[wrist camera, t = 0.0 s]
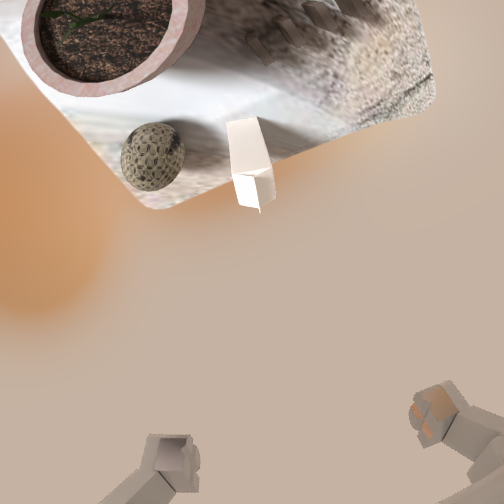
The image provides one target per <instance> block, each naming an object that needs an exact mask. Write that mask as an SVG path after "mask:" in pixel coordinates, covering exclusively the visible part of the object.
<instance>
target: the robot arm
mask: <svg viewBox="0 0 504 504" xmlns="http://www.w3.org/2000/svg"><path fill="white" fill-rule="evenodd" d="M413 400H414V403H413V405H412V406H411V407H410V410H409V419H410V423H411V425H412V427H413V428H414V429H416V430H418V431H419V432H418V438H419V440H420V442H421V444H422V446H423V448H427V447H429V446H432V445H434V444H436V443H439V442H441V441H442V443H444V444H446V445H447V446H449V447H451V448H452V449H454V450H455V451H457V452H459V453H460V454H462V455H463V456H465V457H467V458H468V459H470V460H472V461H473V462H475V463H474V464H473V465H472V466H471V468H470V469H469V470H468V472H467V475H468V477H469V479H470V481H471V483H472V485H470V486H469V487H467V488H465V489H463V490H461V491H460V492H458V493H456V494H454V495H452V496H450V497H448V498H446V499H444V500H442V501H440V502H438V503H436V504H504V418H503V417H501V416H498V415H496V414H493V413H491V412H488V411H485V410H483V409H481V408H478V407H476V406H471V407H470V406H469V404H468V403H467V401H466V400H465V399H464V397H463V396H462V395H461V393H460V392H459V390H458V389H457V388H456V386H455V385H454V384H453V383H452V381H450V380H448V381H445V382H443V383H440V384H438V385H435V386H432V387H430V388H427V389H424V390H422V391H419V392H417V393H416V394H415V395H414V398H413ZM199 469H200V454H199V451H198V448H197V446H195V445H194V444H193V439H192V437H191V435H164V434H149V435H148V437H147V439H146V443H145V448H144V453H143V456H142V461H141V466H140V470H135V471H134V472H133V473H132V474H131V475H129V476H128V477H127V478H126V479H125V480H124V481H123V482H122V483H121V484H120V485H119V486H118V487H117V488H115V489H114V490H113V491H112V492H111V493H110V494H109V495H107V496H106V497H105V498H104V499H103V500H102V501H101V502H100V503H98V504H168V503H169V502H170V501H171V500H172V498H173V497H174V496H175V494H176V492H198V490H199V477H198V475H197V474H196V472H197V471H198V470H199Z"/></svg>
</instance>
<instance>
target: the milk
mask: <svg viewBox="0 0 504 504" xmlns="http://www.w3.org/2000/svg"><path fill="white" fill-rule="evenodd" d="M227 130H228V140H229V150H230V160H231V170H232V177H233V181H234V185H235V189H236V193H237V197H238V201H239V204H240V205H244V206H250V207H255V208H259V211H260V208H261V207H262V206H264V205H265V204H267V203H269V202H270V201H272V200H274V199H275V198H276V189H275V181H274V174H273V167H272V163H271V160H270V157H269V154H268V150H267V147H266V144H265V141H264V138H263V135H262V131H261V128H260V125H259V122H258V119H257V117H251V118H246V119H240V120H235V121H230V122H227ZM260 213H261V212H260Z"/></svg>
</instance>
